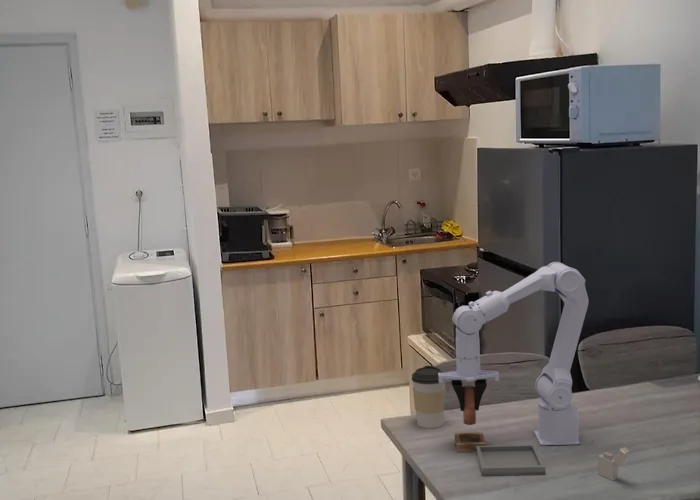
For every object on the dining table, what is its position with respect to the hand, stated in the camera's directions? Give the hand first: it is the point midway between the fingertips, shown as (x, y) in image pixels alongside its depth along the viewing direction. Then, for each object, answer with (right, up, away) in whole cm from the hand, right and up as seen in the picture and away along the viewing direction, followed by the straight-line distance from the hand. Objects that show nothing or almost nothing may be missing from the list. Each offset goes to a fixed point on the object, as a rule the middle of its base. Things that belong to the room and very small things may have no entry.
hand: (469, 409), depth 179 cm
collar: (0, -9, +1) cm, 10 cm away
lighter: (+29, -11, -19) cm, 36 cm away
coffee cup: (-8, -8, +17) cm, 20 cm away
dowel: (0, -3, +1) cm, 3 cm away
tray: (+8, -11, -9) cm, 16 cm away
